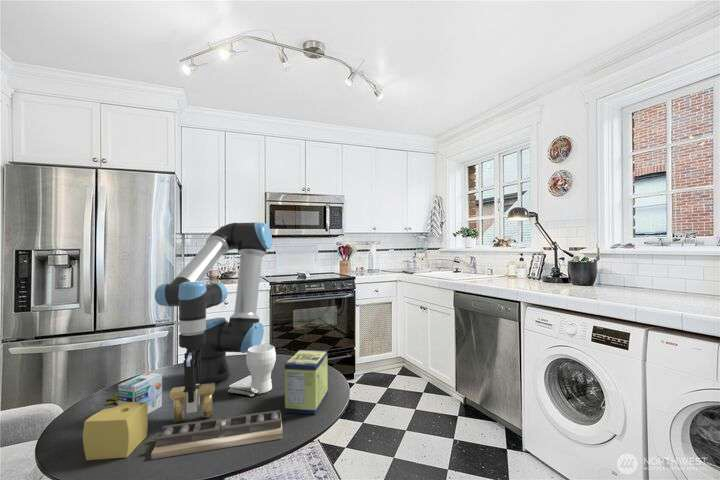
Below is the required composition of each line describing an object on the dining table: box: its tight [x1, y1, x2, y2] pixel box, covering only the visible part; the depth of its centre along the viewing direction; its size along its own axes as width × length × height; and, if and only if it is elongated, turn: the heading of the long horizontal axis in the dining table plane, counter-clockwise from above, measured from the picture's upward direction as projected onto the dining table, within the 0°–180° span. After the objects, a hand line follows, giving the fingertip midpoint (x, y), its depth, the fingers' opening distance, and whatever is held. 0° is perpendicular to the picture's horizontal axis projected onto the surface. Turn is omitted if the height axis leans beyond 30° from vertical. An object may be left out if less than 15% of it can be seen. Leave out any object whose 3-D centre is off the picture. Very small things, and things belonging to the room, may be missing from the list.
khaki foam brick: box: [169, 382, 216, 422], centre depth 103 cm, size 4×12×9 cm, turn 106°
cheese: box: [82, 402, 149, 461], centre depth 88 cm, size 10×11×10 cm
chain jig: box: [150, 409, 284, 460], centre depth 94 cm, size 12×32×4 cm, turn 106°
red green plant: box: [104, 393, 118, 406], centre depth 118 cm, size 12×12×5 cm
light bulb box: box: [117, 372, 163, 415], centre depth 107 cm, size 11×7×11 cm, turn 166°
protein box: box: [284, 349, 329, 416], centre depth 113 cm, size 10×16×16 cm
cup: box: [245, 344, 277, 394], centre depth 124 cm, size 11×11×15 cm
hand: (193, 408), depth 103 cm, fingers closed on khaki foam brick, 3 cm apart
